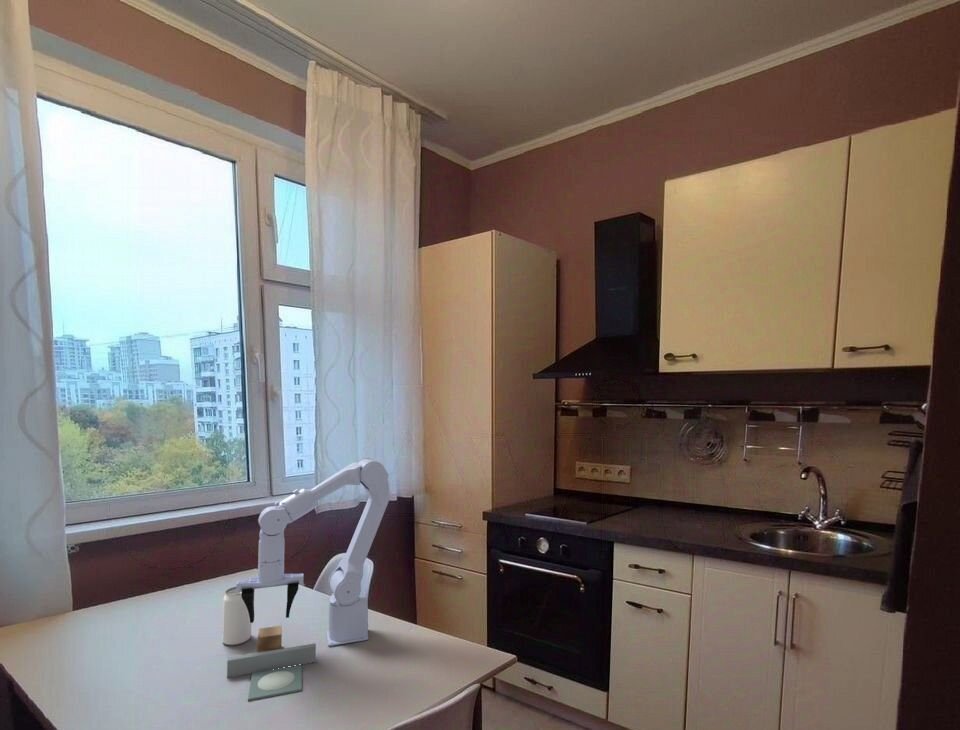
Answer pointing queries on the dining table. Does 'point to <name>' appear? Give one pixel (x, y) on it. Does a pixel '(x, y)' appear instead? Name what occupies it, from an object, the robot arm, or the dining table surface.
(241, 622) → the can
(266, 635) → the walnut block
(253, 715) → the dining table surface
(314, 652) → the low wall
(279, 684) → the mat
